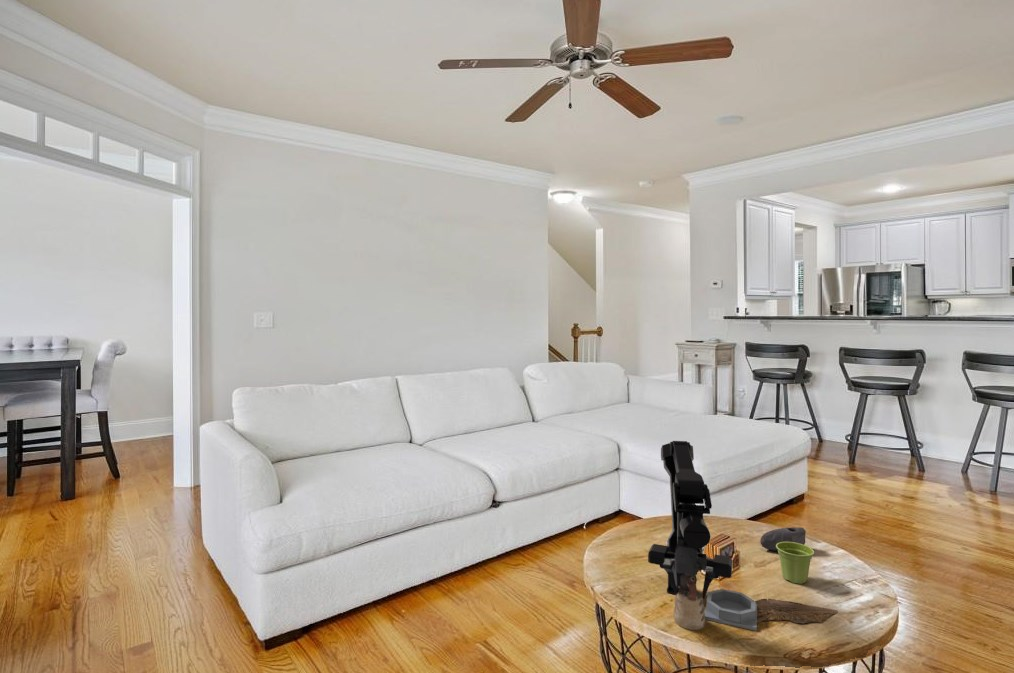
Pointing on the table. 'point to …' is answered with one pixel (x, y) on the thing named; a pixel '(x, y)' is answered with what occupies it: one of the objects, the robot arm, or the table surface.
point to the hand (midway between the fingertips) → (689, 595)
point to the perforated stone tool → (782, 537)
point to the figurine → (689, 604)
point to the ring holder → (731, 609)
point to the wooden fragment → (791, 611)
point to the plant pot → (794, 561)
